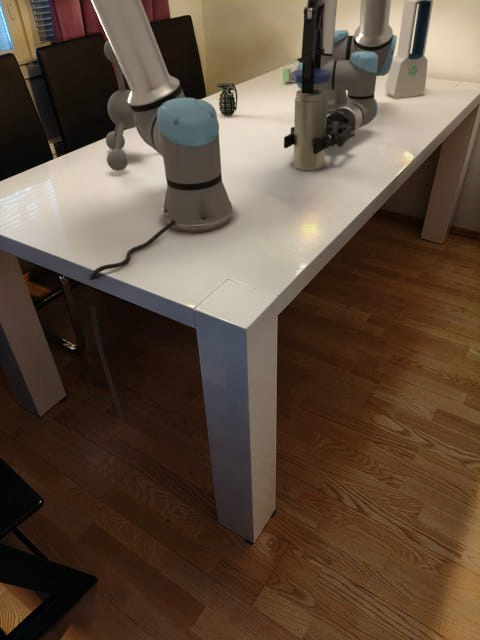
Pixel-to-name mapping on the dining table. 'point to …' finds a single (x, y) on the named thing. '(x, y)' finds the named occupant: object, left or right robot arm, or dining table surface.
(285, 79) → the decorative block
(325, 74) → the lid
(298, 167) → the jar
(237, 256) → the dining table surface
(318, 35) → the left robot arm
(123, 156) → the molecular model
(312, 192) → the dining table surface
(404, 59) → the electronic device
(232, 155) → the dining table surface
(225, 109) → the grenade
